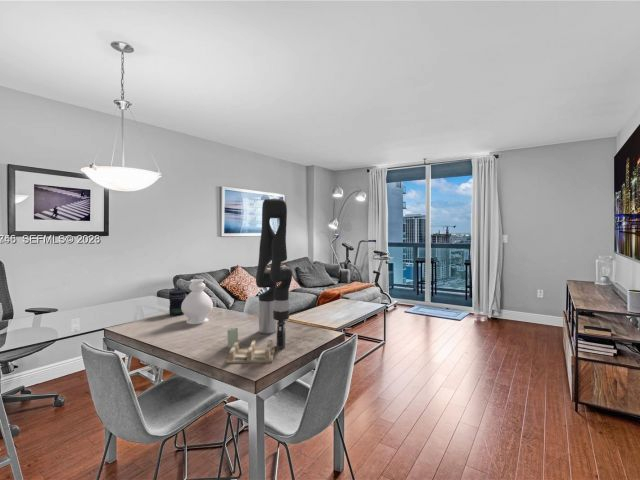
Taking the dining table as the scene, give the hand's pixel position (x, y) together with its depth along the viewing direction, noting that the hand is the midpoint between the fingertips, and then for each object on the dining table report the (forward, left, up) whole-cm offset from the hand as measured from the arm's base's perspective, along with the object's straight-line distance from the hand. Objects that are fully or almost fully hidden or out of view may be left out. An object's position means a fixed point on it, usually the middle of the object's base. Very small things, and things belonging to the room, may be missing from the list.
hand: (281, 343), depth 160 cm
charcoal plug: (0, 0, -1) cm, 1 cm away
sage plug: (-1, -23, -1) cm, 23 cm away
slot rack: (+12, -12, -1) cm, 17 cm away
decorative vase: (-44, -53, -1) cm, 69 cm away
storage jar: (-61, -71, -1) cm, 94 cm away
